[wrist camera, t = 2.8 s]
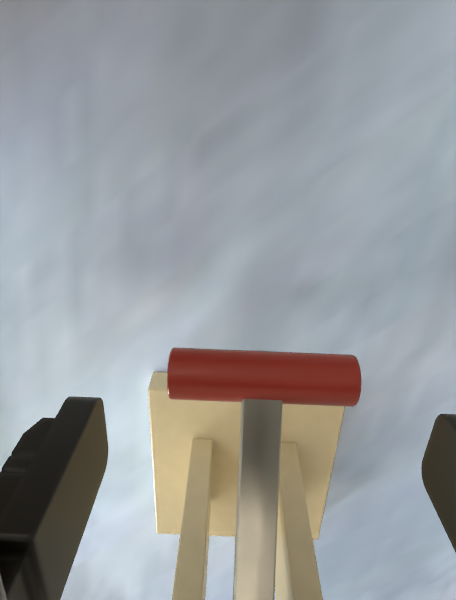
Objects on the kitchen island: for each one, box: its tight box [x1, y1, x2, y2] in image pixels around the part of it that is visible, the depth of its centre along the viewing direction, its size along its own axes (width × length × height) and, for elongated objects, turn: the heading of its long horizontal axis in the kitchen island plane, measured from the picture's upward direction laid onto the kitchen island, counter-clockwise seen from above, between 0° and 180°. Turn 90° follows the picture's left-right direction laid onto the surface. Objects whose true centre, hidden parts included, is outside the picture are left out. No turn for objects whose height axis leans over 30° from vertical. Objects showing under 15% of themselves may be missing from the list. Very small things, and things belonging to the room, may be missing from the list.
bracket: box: [148, 372, 345, 600], centre depth 17 cm, size 10×9×13 cm
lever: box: [167, 348, 361, 600], centre depth 12 cm, size 13×5×2 cm, turn 179°
